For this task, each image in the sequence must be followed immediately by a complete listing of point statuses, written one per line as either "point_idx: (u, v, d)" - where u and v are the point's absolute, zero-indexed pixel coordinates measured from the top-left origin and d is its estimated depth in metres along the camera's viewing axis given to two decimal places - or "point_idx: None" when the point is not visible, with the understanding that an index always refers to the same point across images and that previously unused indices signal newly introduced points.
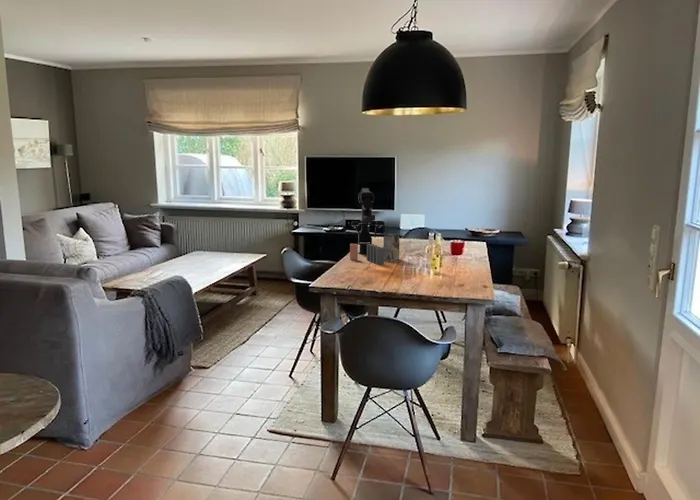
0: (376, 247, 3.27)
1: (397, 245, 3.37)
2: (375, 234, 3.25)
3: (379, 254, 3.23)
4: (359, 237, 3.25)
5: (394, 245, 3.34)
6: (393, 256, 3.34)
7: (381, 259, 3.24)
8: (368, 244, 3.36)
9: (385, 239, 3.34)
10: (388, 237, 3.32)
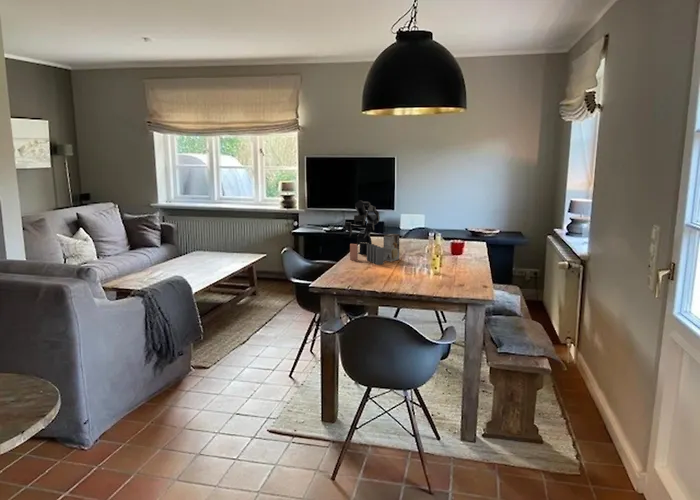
0: (376, 247, 3.27)
1: (397, 245, 3.37)
2: (364, 234, 3.41)
3: (379, 254, 3.23)
4: (349, 236, 3.43)
5: (394, 245, 3.34)
6: (393, 256, 3.34)
7: (381, 259, 3.24)
8: (368, 244, 3.36)
9: (385, 239, 3.34)
10: (388, 237, 3.32)
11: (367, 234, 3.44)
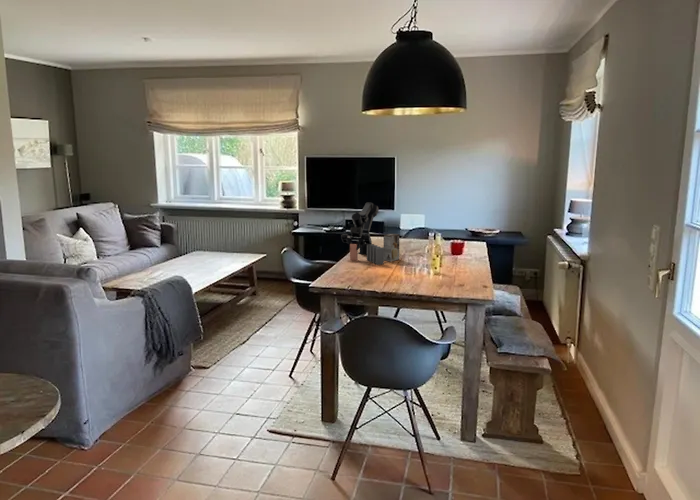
0: (376, 247, 3.27)
1: (397, 245, 3.37)
2: (357, 246, 3.37)
3: (379, 254, 3.23)
4: (349, 248, 3.37)
5: (394, 245, 3.34)
6: (393, 256, 3.34)
7: (381, 259, 3.24)
8: (368, 244, 3.36)
9: (385, 239, 3.34)
10: (388, 237, 3.32)
11: (360, 246, 3.39)
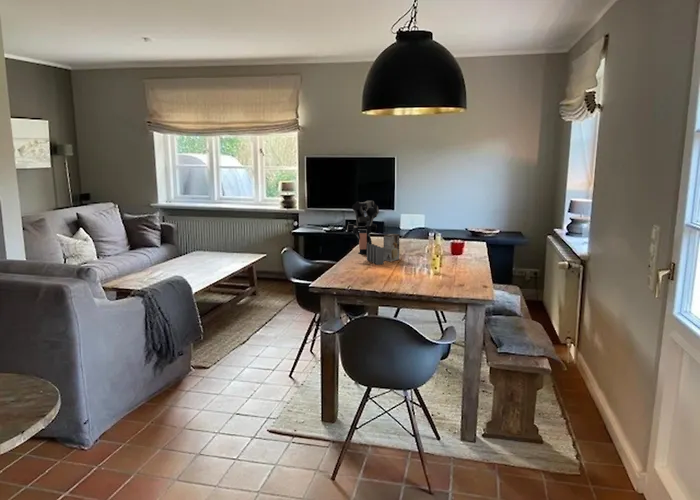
0: (376, 247, 3.27)
1: (397, 245, 3.37)
2: (367, 235, 3.38)
3: (379, 254, 3.23)
4: (359, 238, 3.37)
5: (394, 245, 3.34)
6: (393, 256, 3.34)
7: (381, 259, 3.24)
8: (368, 244, 3.36)
9: (385, 239, 3.34)
10: (388, 237, 3.32)
11: (368, 235, 3.41)
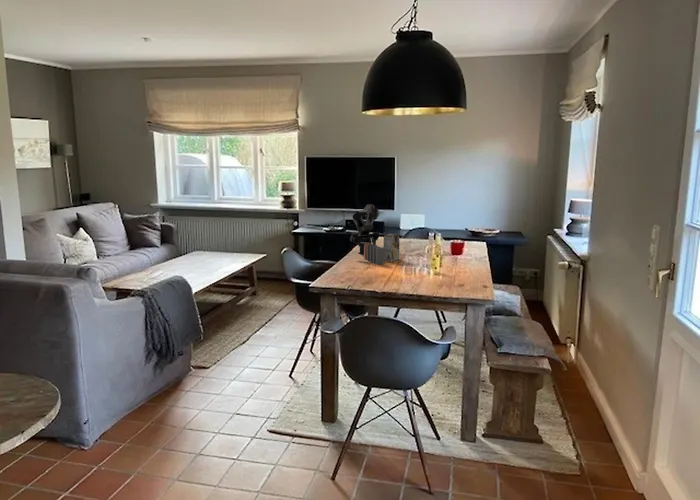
0: (376, 247, 3.27)
1: (397, 245, 3.37)
2: (375, 243, 3.42)
3: (379, 254, 3.23)
4: (361, 247, 3.37)
5: (394, 245, 3.34)
6: (393, 256, 3.34)
7: (381, 259, 3.24)
8: (368, 244, 3.36)
9: (385, 239, 3.34)
10: (388, 237, 3.32)
11: None
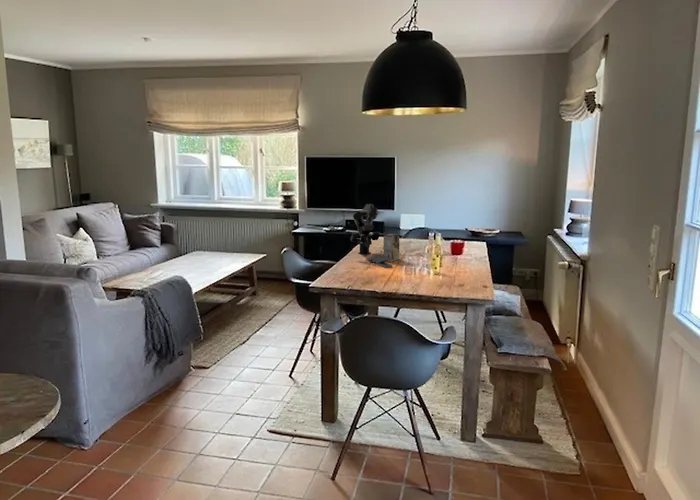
0: (385, 260, 3.18)
1: (397, 245, 3.37)
2: (369, 243, 3.40)
3: None
4: (368, 246, 3.39)
5: (394, 245, 3.34)
6: (393, 256, 3.34)
7: None
8: (376, 255, 3.27)
9: (385, 239, 3.34)
10: (388, 237, 3.32)
11: None
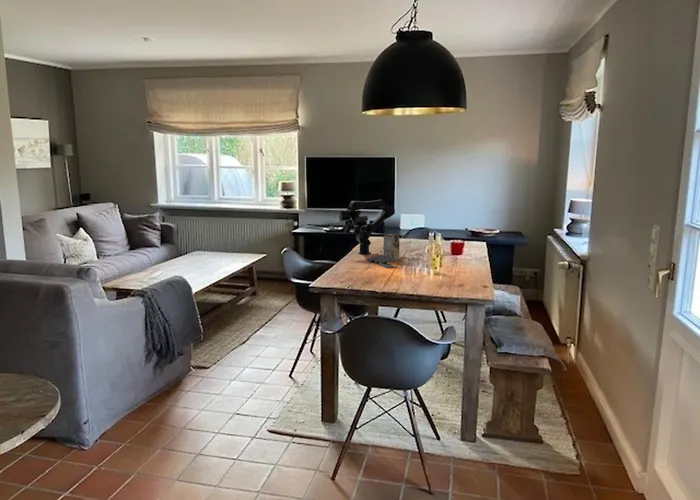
0: (390, 260, 3.18)
1: (397, 245, 3.37)
2: (363, 234, 3.46)
3: None
4: (362, 237, 3.45)
5: (394, 245, 3.34)
6: (393, 256, 3.34)
7: None
8: (378, 255, 3.26)
9: (385, 239, 3.34)
10: (388, 237, 3.32)
11: None
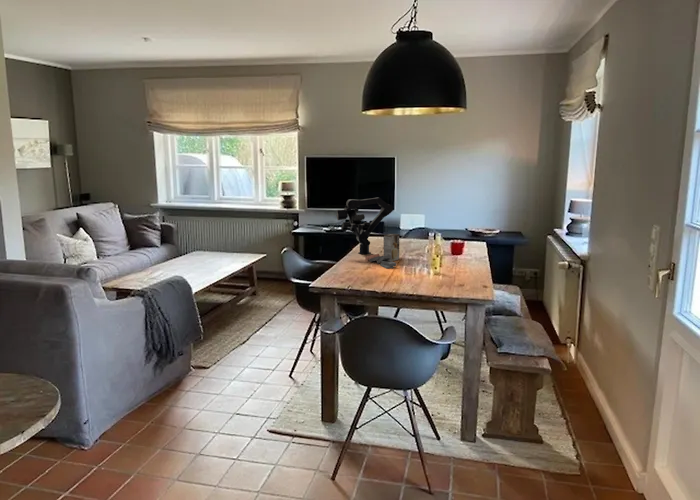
0: None
1: (397, 245, 3.37)
2: (359, 233, 3.46)
3: None
4: (358, 235, 3.45)
5: (394, 245, 3.34)
6: (393, 256, 3.34)
7: None
8: (379, 256, 3.25)
9: (385, 239, 3.34)
10: (388, 237, 3.32)
11: None
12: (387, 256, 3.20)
